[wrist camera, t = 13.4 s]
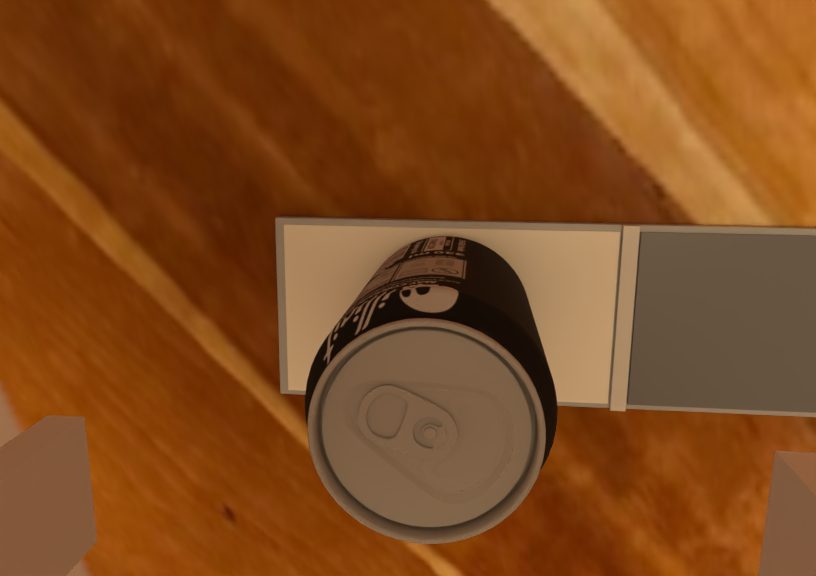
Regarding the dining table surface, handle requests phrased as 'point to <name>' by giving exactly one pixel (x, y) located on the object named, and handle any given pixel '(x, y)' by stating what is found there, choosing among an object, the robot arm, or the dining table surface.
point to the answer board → (598, 305)
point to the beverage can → (433, 395)
